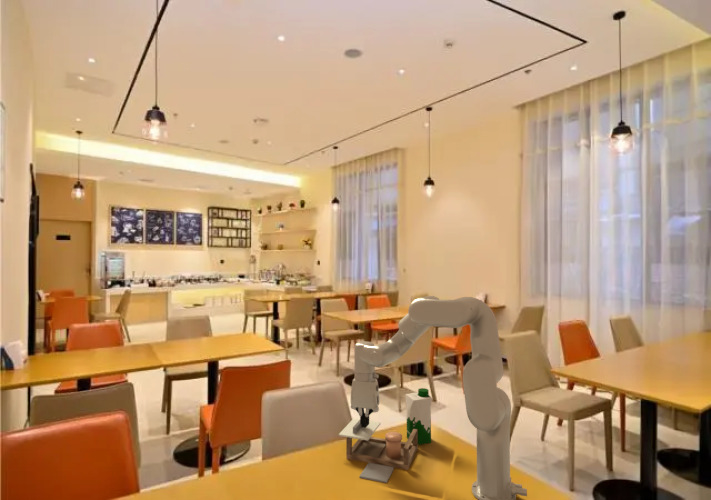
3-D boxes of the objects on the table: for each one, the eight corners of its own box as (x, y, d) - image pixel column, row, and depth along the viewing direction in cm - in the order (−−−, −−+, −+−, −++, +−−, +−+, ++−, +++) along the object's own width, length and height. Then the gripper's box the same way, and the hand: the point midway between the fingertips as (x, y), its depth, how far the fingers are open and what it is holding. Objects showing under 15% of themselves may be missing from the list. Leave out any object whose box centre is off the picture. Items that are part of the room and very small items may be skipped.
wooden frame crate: (417, 451, 148) (417, 429, 148) (407, 472, 133) (407, 448, 133) (361, 441, 156) (361, 421, 156) (346, 461, 141) (346, 438, 141)
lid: (380, 423, 153) (380, 417, 153) (368, 440, 139) (368, 433, 139) (353, 419, 157) (353, 413, 157) (338, 435, 143) (338, 428, 143)
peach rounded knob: (403, 452, 145) (403, 433, 145) (399, 460, 139) (399, 440, 139) (387, 449, 147) (387, 430, 147) (383, 457, 141) (383, 437, 141)
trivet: (394, 471, 134) (394, 467, 134) (386, 486, 125) (386, 481, 125) (368, 467, 137) (368, 462, 137) (359, 480, 128) (359, 475, 129)
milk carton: (434, 445, 152) (434, 392, 153) (413, 449, 150) (412, 395, 150) (424, 436, 161) (423, 385, 161) (403, 439, 158) (403, 388, 158)
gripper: (387, 375, 148) (387, 425, 148) (349, 371, 154) (349, 419, 153) (381, 381, 141) (381, 433, 141) (342, 376, 147) (342, 427, 146)
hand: (364, 426), depth 147 cm, fingers closed
